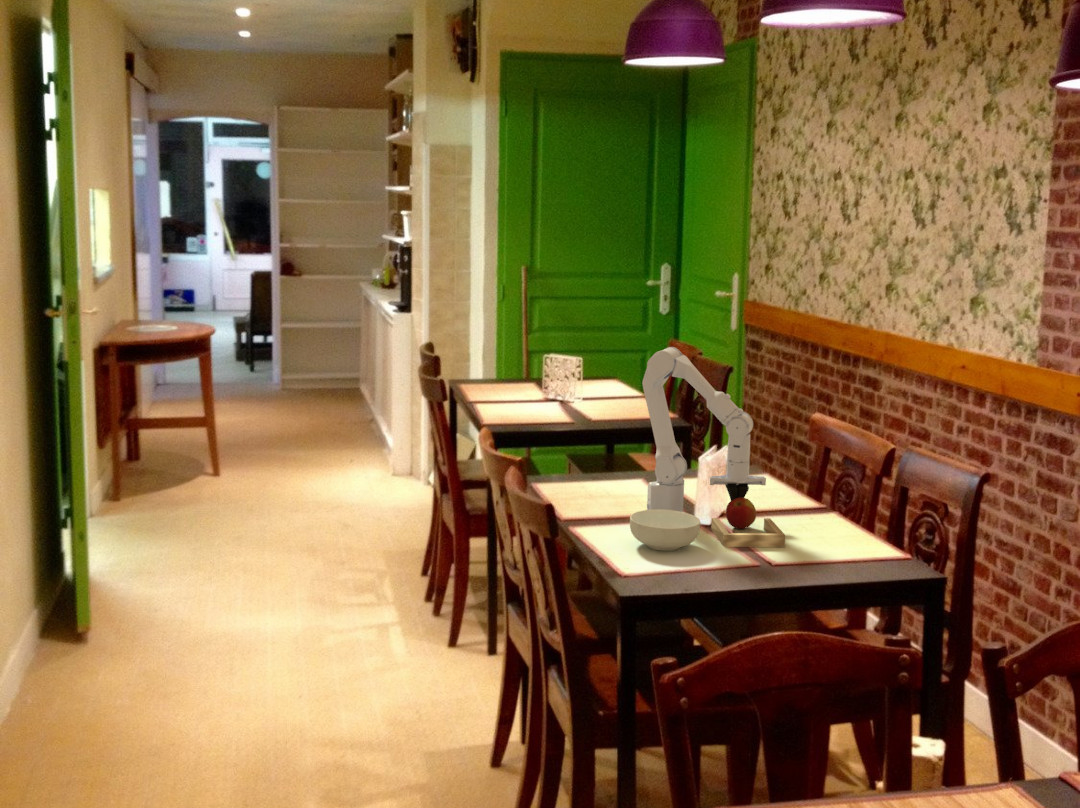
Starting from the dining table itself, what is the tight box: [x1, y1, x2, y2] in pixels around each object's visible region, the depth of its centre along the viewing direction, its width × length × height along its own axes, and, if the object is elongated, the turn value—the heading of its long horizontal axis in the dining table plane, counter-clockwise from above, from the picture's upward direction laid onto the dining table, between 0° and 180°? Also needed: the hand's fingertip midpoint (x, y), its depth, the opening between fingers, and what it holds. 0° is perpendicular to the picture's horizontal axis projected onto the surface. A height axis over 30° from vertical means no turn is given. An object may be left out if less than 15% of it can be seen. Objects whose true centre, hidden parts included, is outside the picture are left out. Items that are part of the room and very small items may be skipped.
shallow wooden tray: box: [710, 517, 786, 548], centre depth 315 cm, size 15×16×3 cm
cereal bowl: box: [629, 509, 701, 552], centre depth 306 cm, size 17×17×7 cm
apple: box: [725, 497, 757, 530], centre depth 323 cm, size 8×8×8 cm
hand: (735, 511), depth 329 cm, fingers closed, pressing on apple
